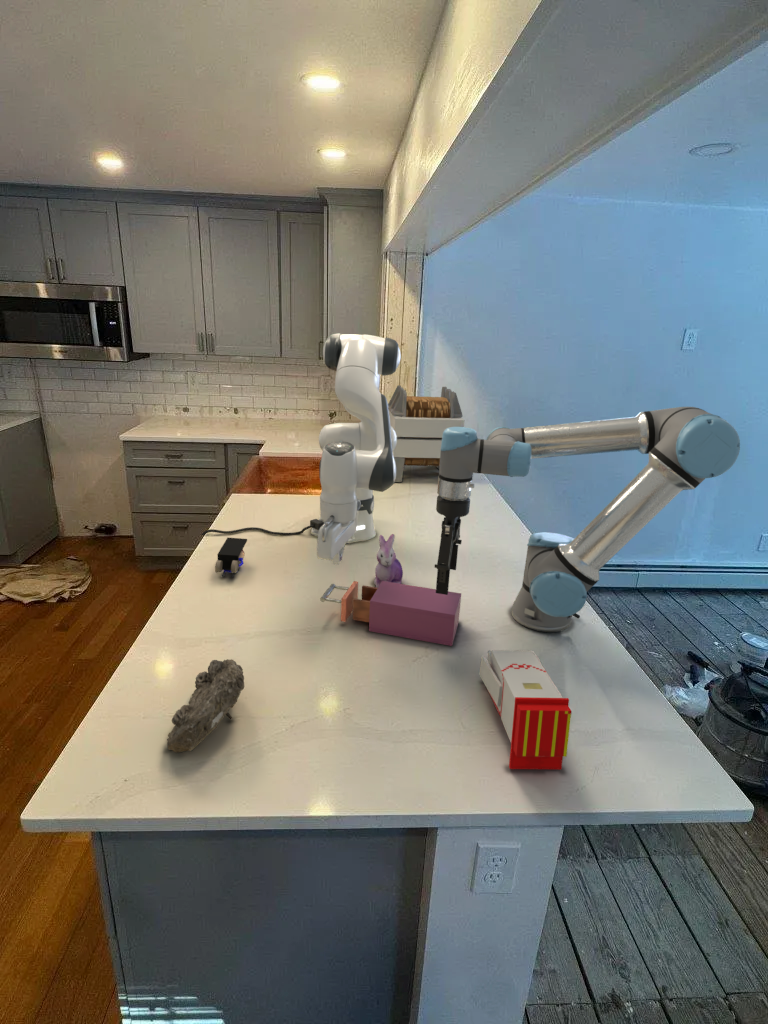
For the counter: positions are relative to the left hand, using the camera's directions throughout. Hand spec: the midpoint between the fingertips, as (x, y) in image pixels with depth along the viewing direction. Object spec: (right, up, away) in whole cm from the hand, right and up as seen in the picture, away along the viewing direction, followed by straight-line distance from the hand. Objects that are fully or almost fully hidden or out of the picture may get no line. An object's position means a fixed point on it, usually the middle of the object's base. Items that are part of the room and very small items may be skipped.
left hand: (337, 562), depth 142 cm
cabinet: (+19, -16, 0) cm, 25 cm away
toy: (+38, -28, -30) cm, 56 cm away
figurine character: (-33, -5, +26) cm, 43 cm away
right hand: (+27, -4, -6) cm, 28 cm away
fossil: (-21, -27, -33) cm, 48 cm away
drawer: (+9, -14, +3) cm, 17 cm away
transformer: (+29, +31, +133) cm, 140 cm away
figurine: (+13, -8, +21) cm, 26 cm away
